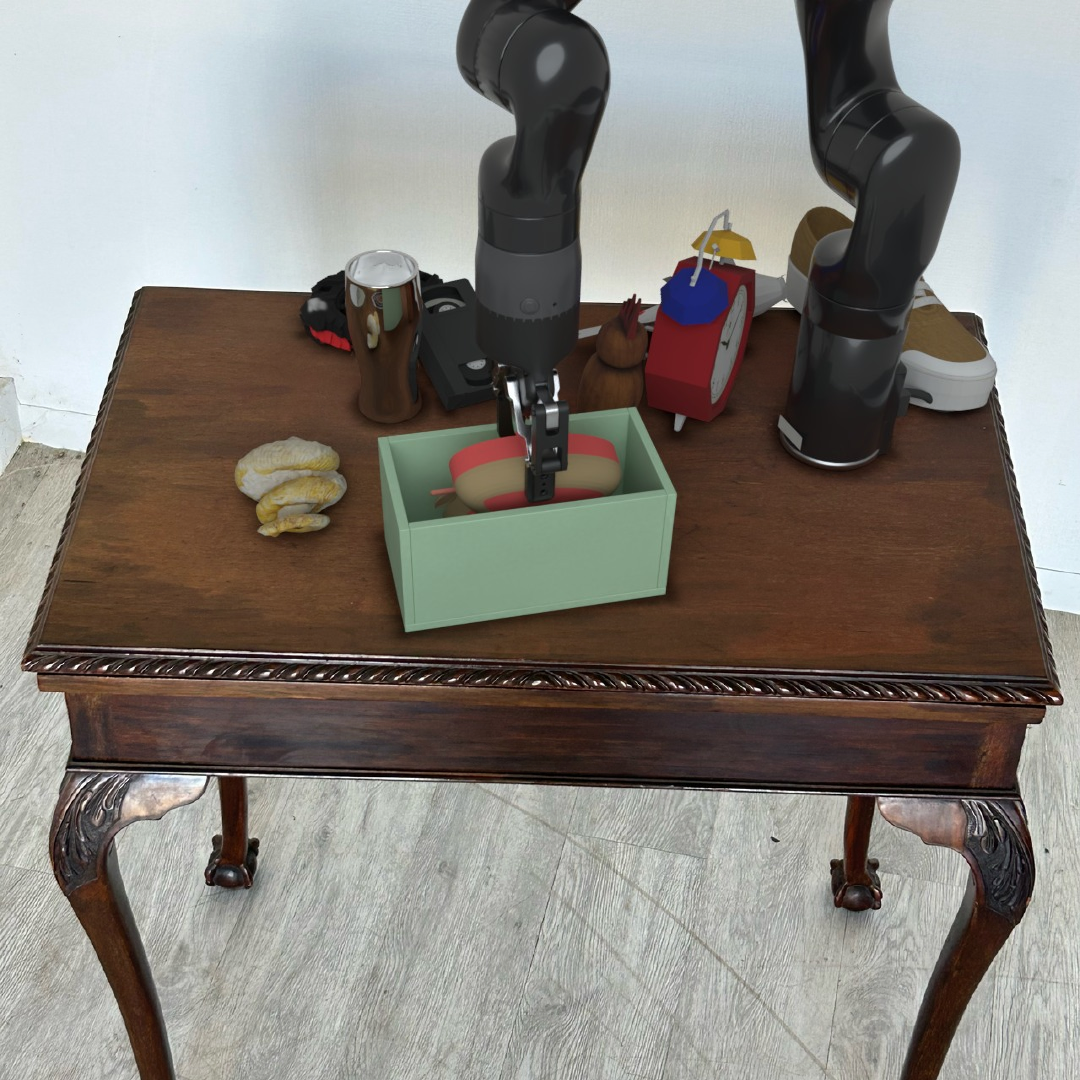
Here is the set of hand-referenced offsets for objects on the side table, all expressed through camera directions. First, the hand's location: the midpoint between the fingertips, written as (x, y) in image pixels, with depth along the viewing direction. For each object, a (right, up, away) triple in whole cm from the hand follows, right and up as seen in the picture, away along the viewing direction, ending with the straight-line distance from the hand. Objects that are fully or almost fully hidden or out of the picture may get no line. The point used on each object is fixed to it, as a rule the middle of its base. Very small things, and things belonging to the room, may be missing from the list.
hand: (524, 465), depth 108 cm
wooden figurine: (+7, +5, +22) cm, 23 cm away
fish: (+17, +17, +28) cm, 37 cm away
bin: (0, -8, +7) cm, 11 cm away
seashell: (-20, -3, +13) cm, 24 cm away
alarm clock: (+15, +8, +25) cm, 30 cm away
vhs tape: (-7, +13, +28) cm, 32 cm away
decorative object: (+8, -1, +4) cm, 8 cm away
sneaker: (+36, +14, +33) cm, 50 cm away
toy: (-15, +17, +35) cm, 42 cm away
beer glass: (-13, +7, +24) cm, 28 cm away
